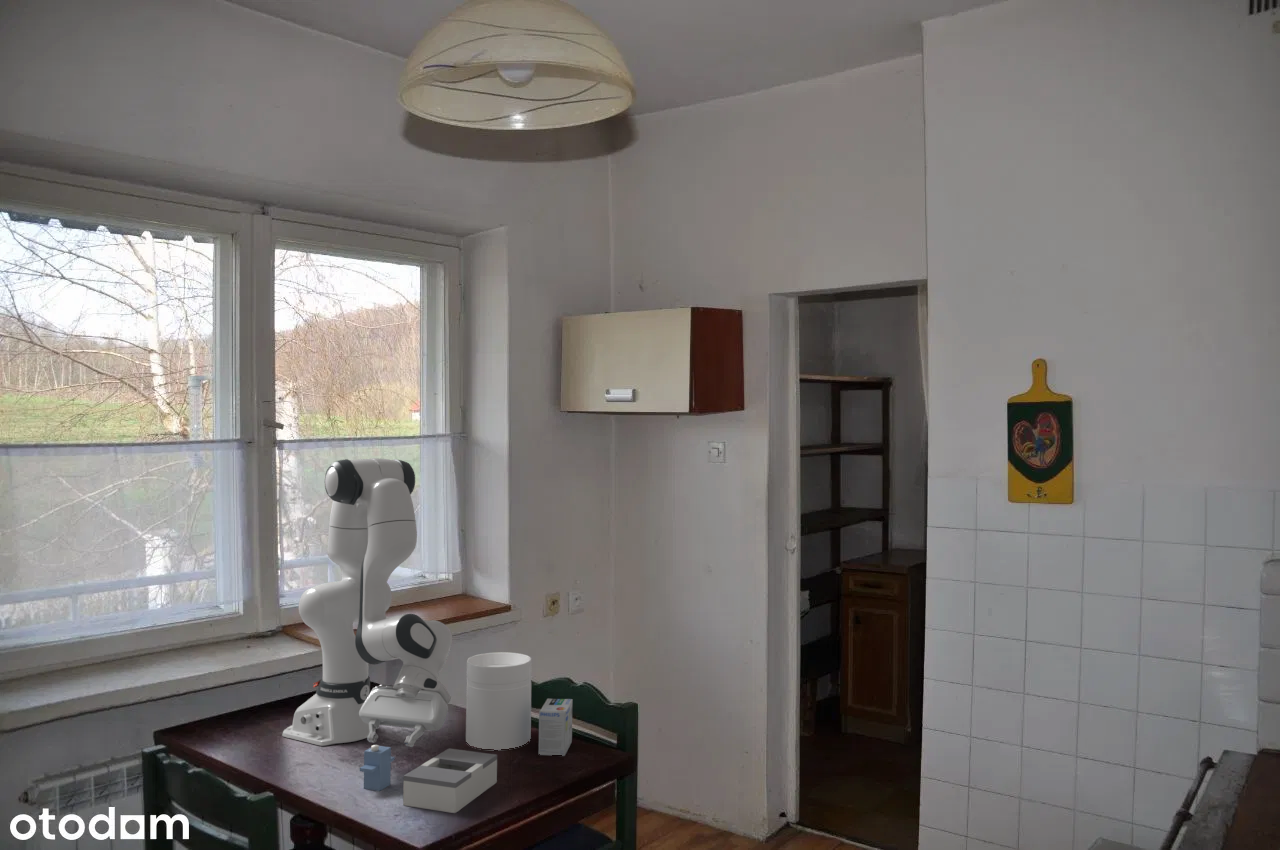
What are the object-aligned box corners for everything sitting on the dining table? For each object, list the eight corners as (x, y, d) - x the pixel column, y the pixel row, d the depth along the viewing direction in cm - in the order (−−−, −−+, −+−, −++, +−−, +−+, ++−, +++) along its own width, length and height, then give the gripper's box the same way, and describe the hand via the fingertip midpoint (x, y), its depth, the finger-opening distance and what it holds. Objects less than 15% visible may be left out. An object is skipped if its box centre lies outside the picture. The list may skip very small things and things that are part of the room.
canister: (493, 726, 244) (494, 649, 244) (543, 736, 236) (544, 657, 236) (452, 743, 230) (453, 661, 230) (503, 754, 222) (504, 670, 222)
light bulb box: (546, 741, 232) (546, 697, 233) (572, 742, 232) (573, 698, 232) (537, 755, 222) (538, 709, 222) (565, 756, 221) (566, 710, 221)
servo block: (357, 792, 198) (357, 749, 198) (380, 778, 206) (381, 737, 206) (373, 794, 196) (374, 751, 196) (396, 780, 204) (396, 739, 204)
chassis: (403, 805, 191) (403, 775, 191) (448, 775, 208) (448, 748, 208) (455, 813, 187) (455, 783, 187) (496, 782, 204) (497, 754, 204)
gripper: (369, 676, 215) (342, 731, 206) (447, 683, 209) (424, 740, 199) (380, 691, 219) (355, 745, 210) (457, 698, 213) (434, 755, 203)
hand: (389, 743), depth 205 cm, fingers open, 8 cm apart
